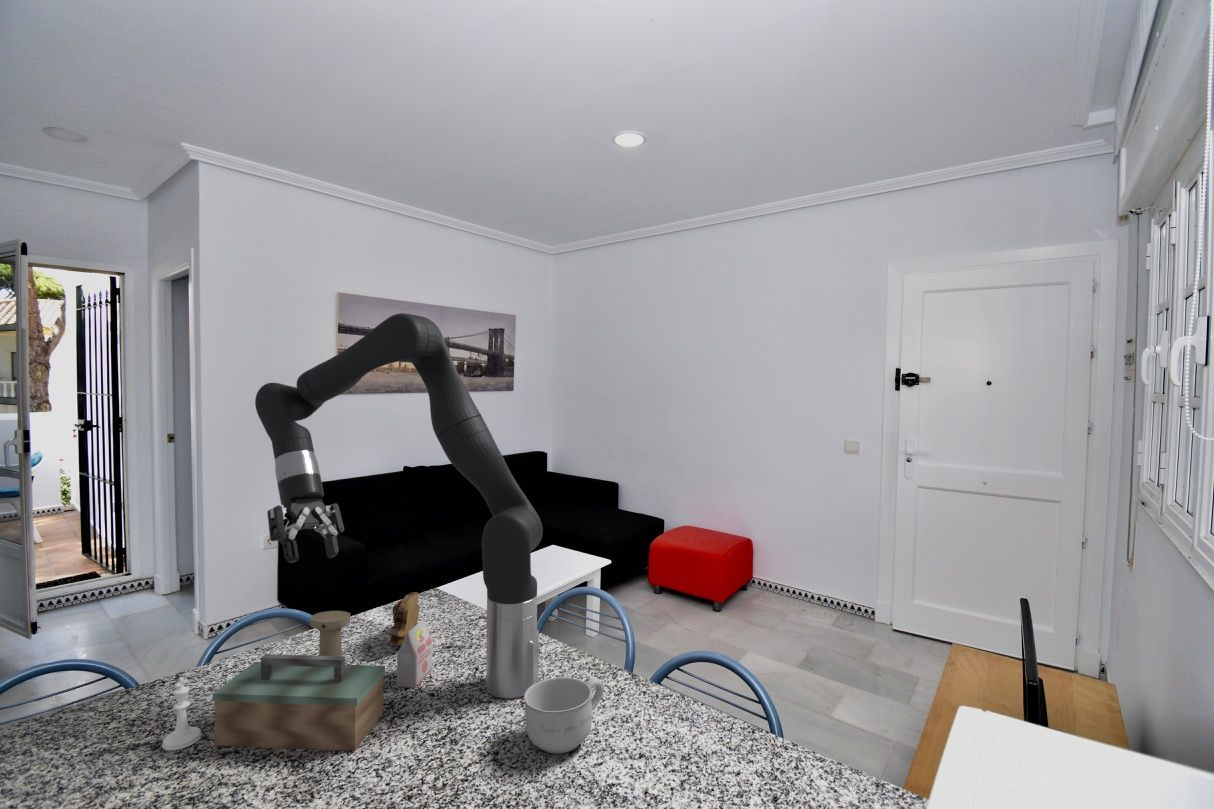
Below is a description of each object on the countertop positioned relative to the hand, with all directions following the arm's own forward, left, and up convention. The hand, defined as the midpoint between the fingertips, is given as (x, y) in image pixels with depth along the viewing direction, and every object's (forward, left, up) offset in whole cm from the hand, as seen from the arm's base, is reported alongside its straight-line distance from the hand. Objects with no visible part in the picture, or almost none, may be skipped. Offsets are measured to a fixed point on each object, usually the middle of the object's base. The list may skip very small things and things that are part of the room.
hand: (314, 559), depth 107 cm
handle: (-7, +7, -23) cm, 25 cm away
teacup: (-50, +15, -23) cm, 57 cm away
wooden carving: (-11, -17, -23) cm, 30 cm away
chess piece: (+10, +19, -23) cm, 32 cm away
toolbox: (-7, +11, -23) cm, 27 cm away
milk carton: (-19, -2, -23) cm, 30 cm away
